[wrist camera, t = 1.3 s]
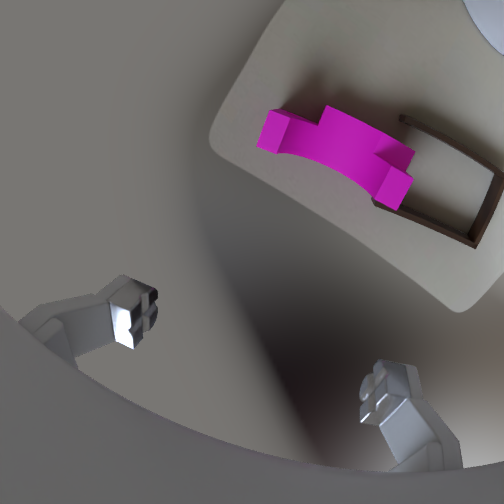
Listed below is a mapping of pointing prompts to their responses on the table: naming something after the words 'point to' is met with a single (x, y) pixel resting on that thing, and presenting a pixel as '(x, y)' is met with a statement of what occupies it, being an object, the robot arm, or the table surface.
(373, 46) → the table surface
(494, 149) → the table surface
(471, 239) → the bay
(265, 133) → the toy block
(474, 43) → the table surface
